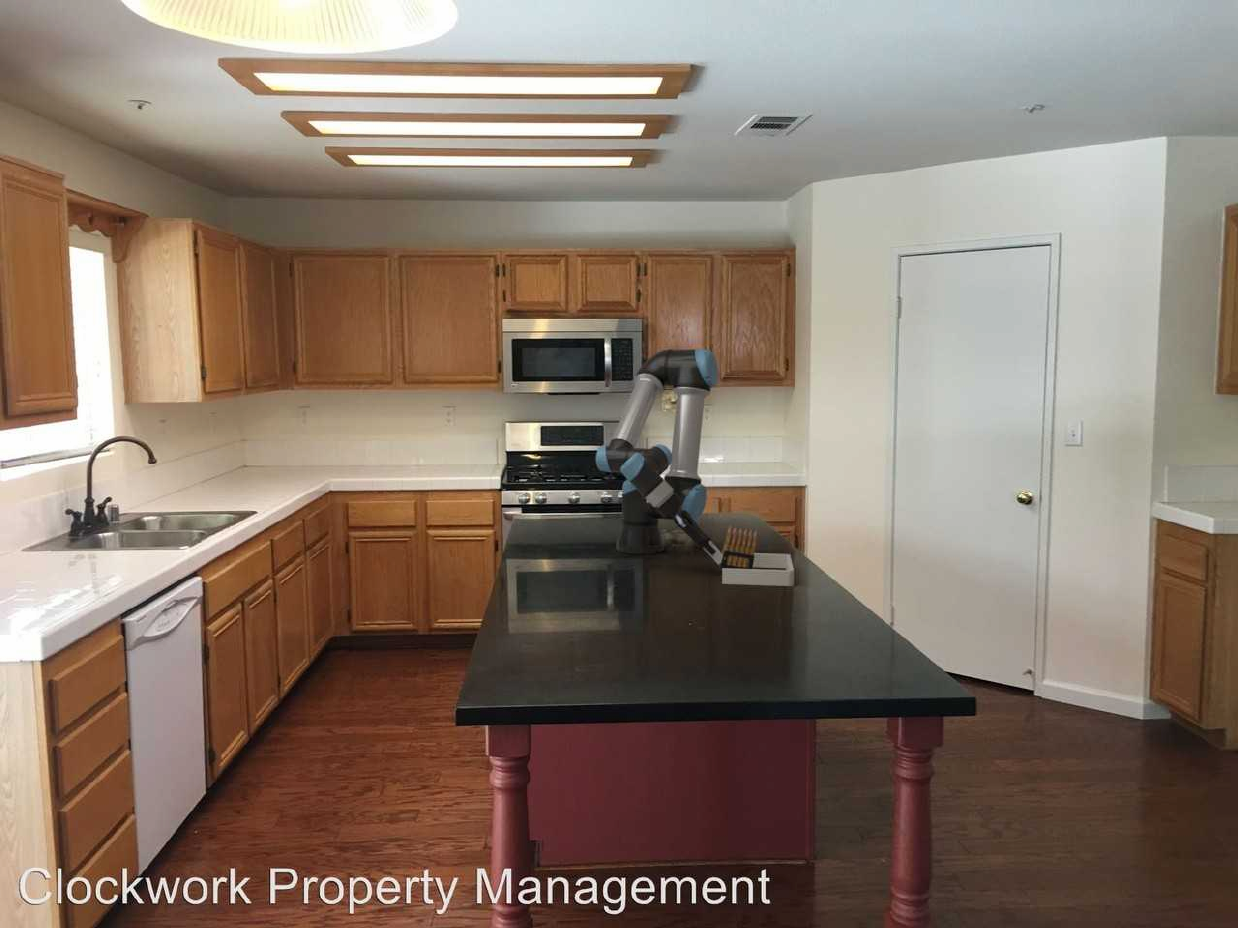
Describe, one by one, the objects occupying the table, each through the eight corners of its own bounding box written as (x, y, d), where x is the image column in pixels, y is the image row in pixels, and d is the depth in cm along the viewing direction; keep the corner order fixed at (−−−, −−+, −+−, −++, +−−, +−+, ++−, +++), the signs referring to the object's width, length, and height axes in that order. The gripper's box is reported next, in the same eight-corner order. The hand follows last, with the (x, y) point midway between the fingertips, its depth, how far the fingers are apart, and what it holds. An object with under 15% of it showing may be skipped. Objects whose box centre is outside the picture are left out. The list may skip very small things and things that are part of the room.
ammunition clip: (748, 571, 266) (757, 530, 265) (751, 572, 264) (760, 531, 263) (716, 566, 261) (726, 525, 260) (720, 568, 259) (729, 526, 259)
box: (723, 565, 273) (724, 552, 273) (789, 567, 271) (790, 554, 270) (722, 583, 251) (722, 569, 251) (793, 586, 249) (794, 571, 248)
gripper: (657, 505, 268) (713, 564, 267) (652, 512, 255) (711, 575, 255) (676, 487, 267) (732, 547, 266) (672, 494, 254) (731, 557, 253)
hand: (722, 561), depth 260 cm, fingers closed
